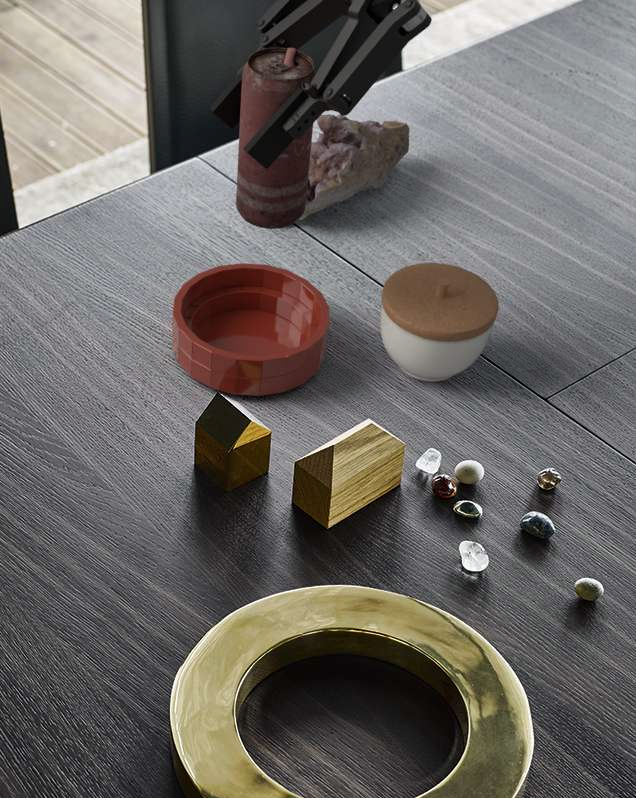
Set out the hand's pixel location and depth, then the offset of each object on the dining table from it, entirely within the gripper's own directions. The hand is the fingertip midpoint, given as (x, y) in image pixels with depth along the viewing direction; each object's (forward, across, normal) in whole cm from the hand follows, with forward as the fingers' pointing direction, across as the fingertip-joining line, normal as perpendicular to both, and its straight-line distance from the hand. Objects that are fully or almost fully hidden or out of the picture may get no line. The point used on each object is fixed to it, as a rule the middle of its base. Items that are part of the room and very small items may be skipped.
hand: (237, 138), depth 104 cm
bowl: (+15, -1, -17) cm, 23 cm away
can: (+3, 0, -8) cm, 9 cm away
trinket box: (+4, -9, -28) cm, 30 cm away
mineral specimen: (0, +20, -32) cm, 38 cm away
